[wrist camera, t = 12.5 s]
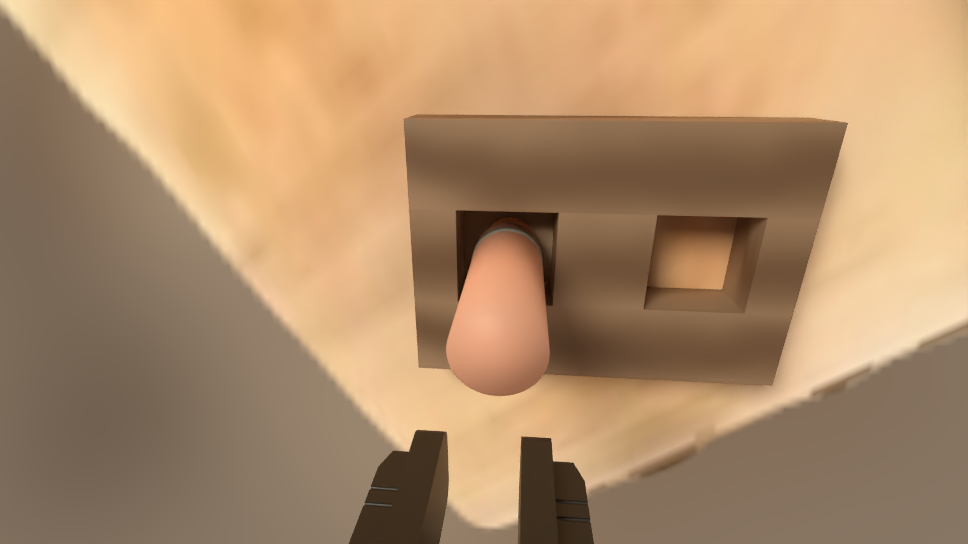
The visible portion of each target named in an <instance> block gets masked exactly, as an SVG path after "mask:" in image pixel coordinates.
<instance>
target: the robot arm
mask: <svg viewBox="0 0 968 544" xmlns="http://www.w3.org/2000/svg"><path fill="white" fill-rule="evenodd" d="M448 485H449V473H448V445H447V433H446V432H442V431H426V430H417V431H416V432H415V435H414V438H413V441H412V444H411V447H410V450H409V452H403V451H392V453H391V454H390V455H389V456H388V457H387V458H386V459H385V460H384V461H383V462H382V463H381V464H380V466H379V467H378V469H377V472H376V474H375V477H374V479H373V482H372V485H371V490H369V493H368V495H367V498H366V501H365V505H364V506H363V508H362V511H361V513H360V516H359V519H358V521H357V524H356V526H355V529H354V532H353V534H352V537H351V539H350V542H349V544H439V542H440V537H441V531H442V526H443V520H444V515H445V509H446V505H447V497H448ZM518 544H594V542H593V535H592V529H591V523H590V515H589V508H588V501H587V494H586V487H585V481H584V479H583V478H582V476H581V474H580V473H579V471H578V470H577V468H576V467H575V465H574V463H569V462H554V461H553V456H552V442H551V438H537V437H521V456H520V480H519V514H518Z"/></svg>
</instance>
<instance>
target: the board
mask: <svg viewBox="0 0 968 544" xmlns="http://www.w3.org/2000/svg"><path fill="white" fill-rule="evenodd" d="M847 124H848V123H845V122H837V121H830V120H822V119H815V118H765V117H643V116H522V115H415V116H411V117H408V118H405V119H404V131H405V148H406V164H407V181H408V197H409V213H410V230H411V246H412V263H413V279H414V296H415V312H416V329H417V345H418V361H419V368H437V369H451V368H450V365H449V363H448V359H447V354H446V344H447V339H448V336H449V333H450V329H451V326H452V323H453V320H454V316H455V313H456V310H457V307H458V303H459V300H460V297H461V294H462V290H463V287H464V284H465V281H464V220H463V210H466V211H507V212H548V213H555V215H554V231H553V247H552V263H551V279H550V284H544V289H545V301H546V312H547V324H548V336H549V348H550V357H549V363H548V366H547V369H546V371H545V373H544V374H554V375H574V376H594V377H613V378H633V379H652V380H672V381H692V382H711V383H731V384H750V385H770V386H772V384H773V381H774V377H775V374H776V371H777V367H778V364H779V360H780V357H781V353H782V350H783V346H784V343H785V339H786V336H787V332H788V329H789V325H790V322H791V319H792V315H793V312H794V308H795V305H796V301H797V298H798V294H799V291H800V287H801V284H802V280H803V277H804V273H805V270H806V267H807V263H808V260H809V256H810V253H811V249H812V246H813V242H814V239H815V235H816V232H817V228H818V225H819V221H820V218H821V215H822V211H823V208H824V204H825V201H826V197H827V194H828V190H829V187H830V183H831V180H832V176H833V173H834V169H835V166H836V163H837V159H838V156H839V152H840V149H841V145H842V142H843V138H844V135H845V131H846V128H847ZM657 215H672V216H713V217H738V220H737V225H736V230H735V234H734V239H733V243H732V248H731V252H730V257H729V262H728V266H727V271H726V275H725V280H724V285H723V289H722V290H711V289H683V288H655V287H647V282H648V275H649V268H650V262H651V255H652V248H653V242H654V235H655V228H656V222H657Z"/></svg>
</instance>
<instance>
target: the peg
mask: <svg viewBox="0 0 968 544" xmlns="http://www.w3.org/2000/svg"><path fill="white" fill-rule="evenodd" d="M446 354H447V359H448V363H449V365H450V368H451V369H452V371H453V373H454V374H455V375H456V377H457V378H458V379H459V380H460V381H461V382H462V383H464V384H465V385H466V386H468V387H470V388H471V389H473V390H475V391H477V392H480V393H483V394H487V395H493V396H507V395H513V394H517V393H520V392H523V391H525V390H527V389H528V388H530V387H532V386H533V385H534V384H535V383H537V382H538V381H539V379H540V378H541V377H542V376H543V374H544V373H545V371H546V369H547V366H548V363H549V357H550V348H549V336H548V324H547V312H546V301H545V289H544V277H543V255H542V251H541V246H540V243H539V241H538V239H537V237H536V236H535V235H534V233H533V231H532V229H531V228H530V227H529V225H527V224H526V223H525V222H524V221H522V220H520V219H517V218H511V217H508V218H502V219H499V220H497V221H495V222H494V223H493V224H491V225H490V226H489V228H488V229H487V230H486V231H485V232H484V233H483V234H482V235H481V236H480V238H479V240H478V242H477V244H476V246H475V248H474V251H473V255H472V259H471V264H470V268H469V271H468V274H467V277H466V281H465V284H464V287H463V290H462V294H461V297H460V300H459V303H458V307H457V310H456V313H455V316H454V320H453V323H452V326H451V329H450V333H449V336H448V339H447V344H446Z"/></svg>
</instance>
